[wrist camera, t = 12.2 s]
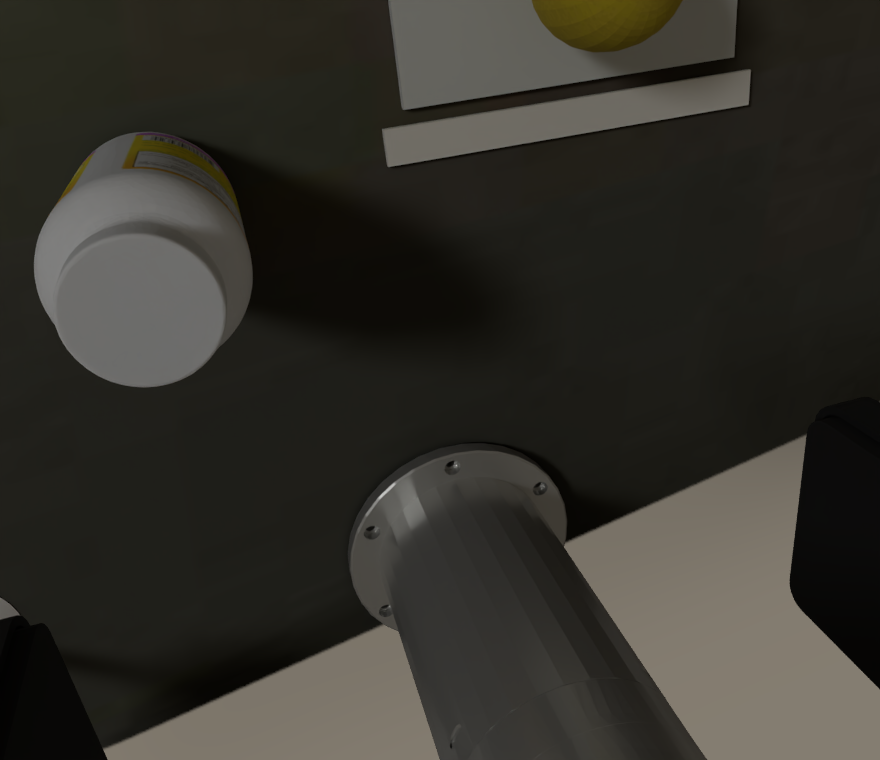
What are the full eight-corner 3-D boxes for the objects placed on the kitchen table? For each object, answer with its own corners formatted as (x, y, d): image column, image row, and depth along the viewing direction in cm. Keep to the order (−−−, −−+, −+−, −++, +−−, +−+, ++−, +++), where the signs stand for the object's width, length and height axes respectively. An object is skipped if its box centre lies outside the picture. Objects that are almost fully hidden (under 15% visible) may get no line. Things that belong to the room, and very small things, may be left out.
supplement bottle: (115, 306, 35) (78, 451, 24) (41, 158, 32) (-43, 245, 21) (261, 256, 36) (292, 372, 25) (203, 107, 33) (208, 164, 21)
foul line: (744, 104, 39) (748, 104, 39) (387, 165, 36) (388, 166, 35) (747, 69, 38) (750, 70, 38) (381, 128, 35) (383, 129, 35)
